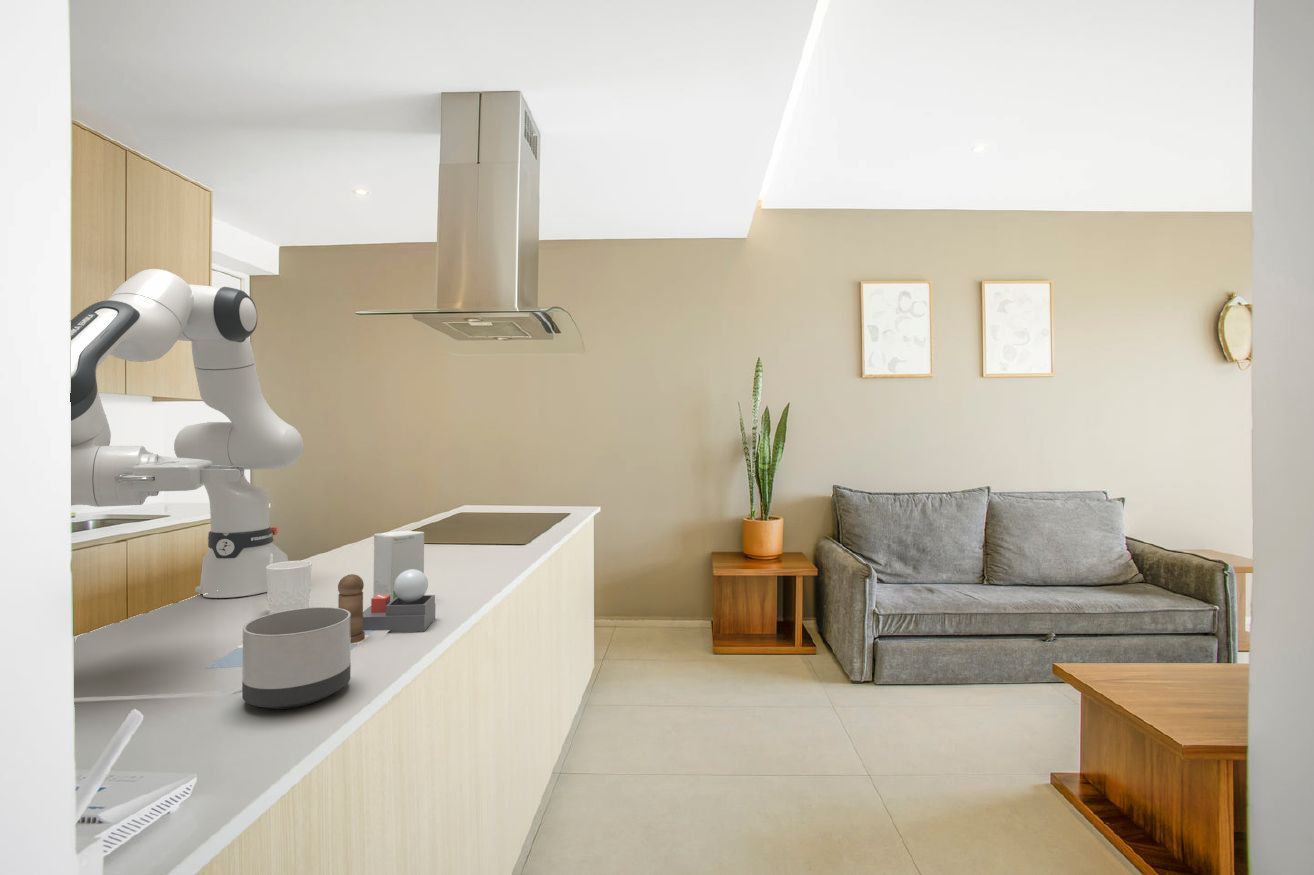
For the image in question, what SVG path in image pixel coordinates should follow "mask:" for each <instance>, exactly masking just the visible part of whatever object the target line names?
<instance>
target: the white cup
mask: <svg viewBox="0 0 1314 875" xmlns="http://www.w3.org/2000/svg"><path fill="white" fill-rule="evenodd" d="M312 563H313V562H311V561H309V560H288V561H287V562H279V563H274V564H270V565H268V566H266V578H267V592H266V594H267V595H266V597H267V604H268V611H269V612H268V615H269V614H273V613H277V612H282V611H287V610H294V609H301V608H309V603H310V601H309V600H310V597H311V596H310V595H311V585H312V584H311V583H312V569H313V568H312V567H313V564H312Z"/></svg>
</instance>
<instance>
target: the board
mask: <svg viewBox="0 0 1314 875" xmlns="http://www.w3.org/2000/svg"><path fill="white" fill-rule="evenodd" d="M363 631H365V638H364V639H363V640H362V641H359V642H356V643H351V651H353V649H354V648H355V647H356V646H357V645H360V644H361V643H362V642H364V641H365V640H366V639H367V638H368V637H369V636H370V634H371V633H372V632H373V631H374V630H363ZM242 654H243V643H242V644H240V645H237V647H236V648H235V649H234V650H231V651H230V652H229V653H227V654H225V655H223V656H222V657H221V658H219V659H217V660H216V661H214V662H212V663H210V664H208V665H207V666H206V667H204V669H214V668H215V669H217V668H242Z"/></svg>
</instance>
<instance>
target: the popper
mask: <svg viewBox="0 0 1314 875" xmlns="http://www.w3.org/2000/svg"><path fill="white" fill-rule="evenodd" d="M370 604H371V605H370V606H369V607H367V608H366V609H365V610H363V630H373V631H387V634H390V633H389V632H401V633H418V632H417V631H420V632H419V633H422V632H421V631H425V632H426V631H427V629H428V628H429V627H430V626H431V624H432V623H433V622H434V621H435V620H436V595H435V594H424V595H423V597H421V598H420V599H418V600H416V601H413V602H406V601H403V600H401V599H400V598H398V597H396V598H395V599H393V600H392V601H391V602H390V595H376V596H374V597H373V596H372V597H371V598H370ZM434 619H435V620H434ZM433 620H434V621H433ZM431 622H432V623H431ZM430 623H431V624H430ZM429 625H430V626H429ZM428 626H429V627H428ZM427 627H428V628H427ZM426 628H427V629H426Z"/></svg>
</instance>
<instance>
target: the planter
mask: <svg viewBox="0 0 1314 875" xmlns="http://www.w3.org/2000/svg"><path fill="white" fill-rule="evenodd" d="M242 644H243V654H242V667H241V668H242V669H241V670H242V673H241V674H242V678H241V681H242V682H241V684H242V687H241V692H242V693H241V694H242V695H241V698H242V700H243V701H244V702H245V703H246V704H249V705H251V706H253V707H254V706H255V707H260V708H265V709H266V708H267V709H274V710H283V709H285V710H286V709H287V710H288V709H295V708H300V707H305V706H308V705H311V703H312V704H314V703H317V702H320V701H321V700H324V699H325V698H328V697H330V696H331V695H333V694H334V693H337V692H338V691H340V690H341V689H343V688H344V687H346V685H348V683H349V682H350V680H351V666H352V665H351V661H352V660H351V652H352V650H351V613H350V612H349V611H347V610H345V609H341V608H338V607H331V606H318V607H317V606H316V607H315V606H314V607H308V608H301V609H294V610H287V611H282V612H277V613H273V614H269V613H268V614H266V615H263V616H259V617H258V618H254V619H252V620H250V621H248V622H247V623H245V624H244V625H243V626H242Z"/></svg>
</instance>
